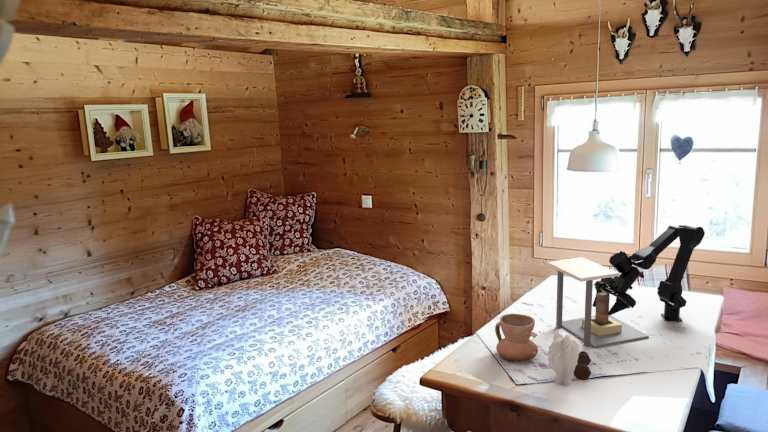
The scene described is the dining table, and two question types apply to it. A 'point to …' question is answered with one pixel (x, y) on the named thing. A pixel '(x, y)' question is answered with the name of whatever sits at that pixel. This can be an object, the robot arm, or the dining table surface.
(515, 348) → the ceramic jug
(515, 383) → the dining table surface
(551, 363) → the shell sculpture
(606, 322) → the walnut peg
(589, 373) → the bolt
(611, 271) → the socket stand
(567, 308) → the dining table surface
